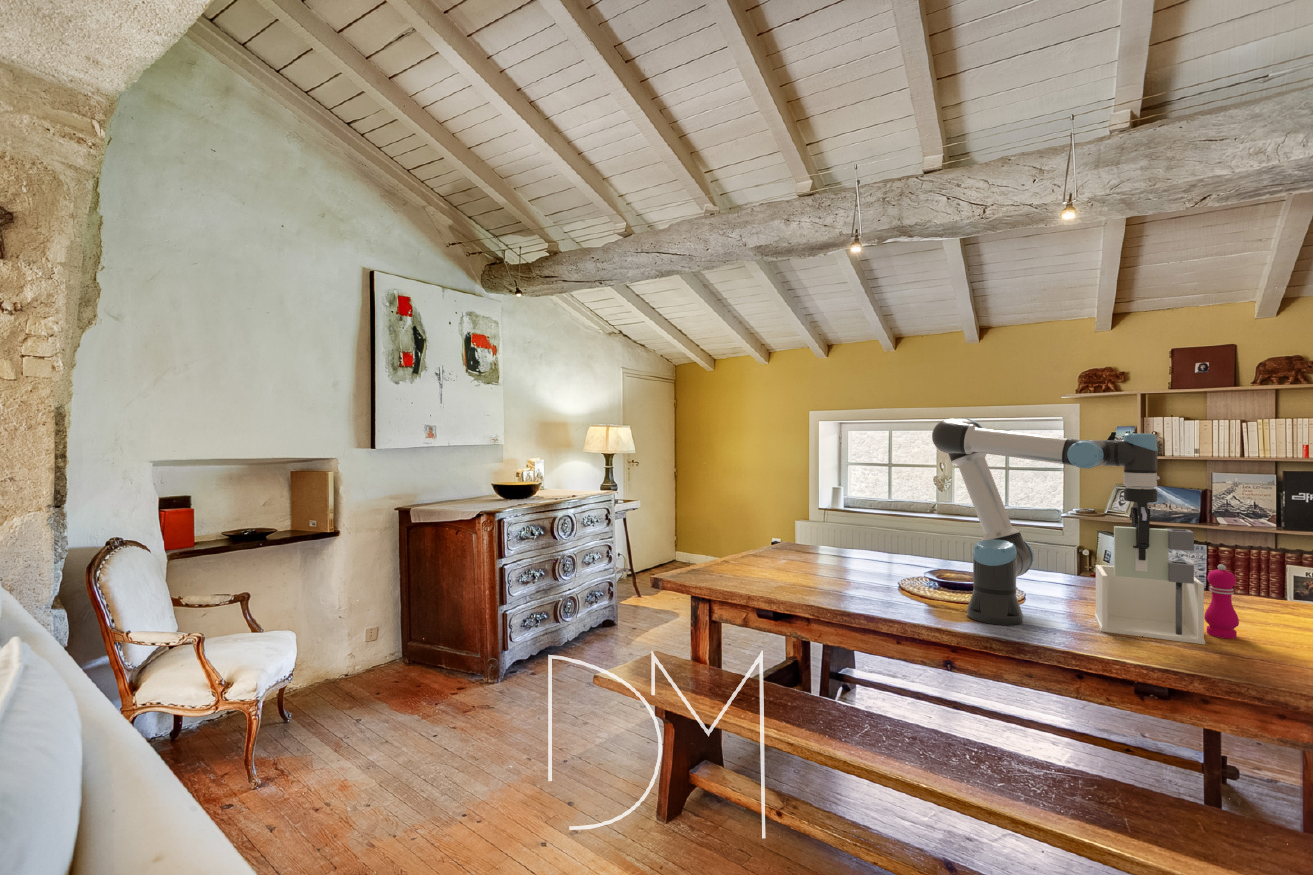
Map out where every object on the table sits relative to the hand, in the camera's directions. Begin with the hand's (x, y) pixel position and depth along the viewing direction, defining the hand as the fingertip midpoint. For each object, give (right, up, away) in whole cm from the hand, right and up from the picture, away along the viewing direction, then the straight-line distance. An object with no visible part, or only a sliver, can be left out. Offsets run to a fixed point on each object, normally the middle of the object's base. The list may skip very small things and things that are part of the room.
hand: (1140, 570), depth 177 cm
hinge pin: (+8, -17, -4) cm, 19 cm away
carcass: (+4, -18, +4) cm, 19 cm away
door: (+2, -2, -1) cm, 3 cm away
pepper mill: (+22, -18, -2) cm, 28 cm away
